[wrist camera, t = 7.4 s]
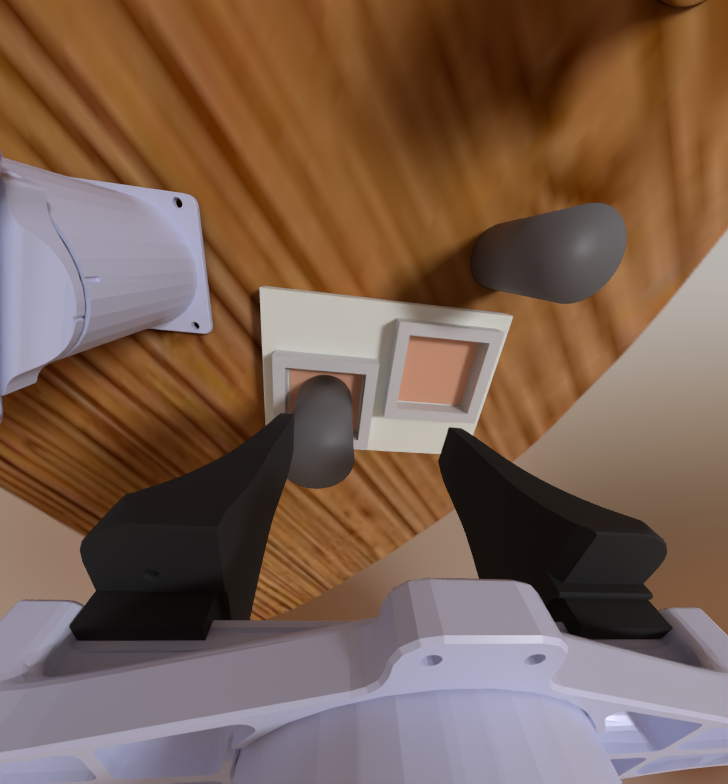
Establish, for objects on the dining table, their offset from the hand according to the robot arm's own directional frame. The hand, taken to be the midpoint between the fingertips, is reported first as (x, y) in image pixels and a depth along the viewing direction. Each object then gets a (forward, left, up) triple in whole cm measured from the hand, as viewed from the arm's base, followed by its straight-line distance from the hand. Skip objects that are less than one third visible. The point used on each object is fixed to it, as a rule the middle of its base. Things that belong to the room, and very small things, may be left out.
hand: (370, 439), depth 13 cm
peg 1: (-3, -2, -8) cm, 9 cm away
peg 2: (+8, +9, -10) cm, 15 cm away
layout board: (+1, -1, -10) cm, 10 cm away
